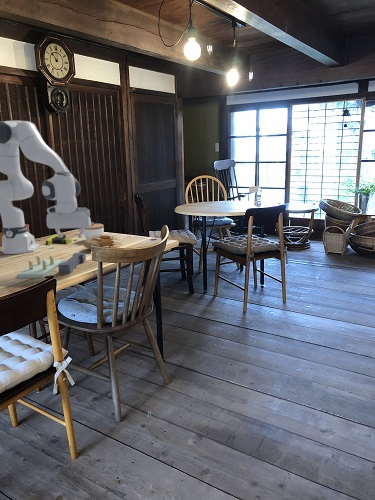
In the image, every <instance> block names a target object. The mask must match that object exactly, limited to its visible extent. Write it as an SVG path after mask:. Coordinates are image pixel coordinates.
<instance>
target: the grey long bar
mask: <svg viewBox="0 0 375 500" xmlns="http://www.w3.org/2000/svg"><path fill="white" fill-rule="evenodd" d="M85 262H87V256H86V252H74V253H73V254H72V256H71V257H70V258H68V259H67V260H66V261H65V262H64V263H60V264H59V265H58V268H57V270H58V274H66V275H67V274H69V275H70V274H72V273H73V272H74V269H75V268H77V267H78V266H79V265H81V264H84V263H85Z"/></svg>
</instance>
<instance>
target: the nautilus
mask: <svg viewBox="0 0 375 500" xmlns="http://www.w3.org/2000/svg"><path fill="white" fill-rule="evenodd" d="M119 238H120V237H115V236H113V235H105V234H103V235H95V236H92V237H90V238H88V239H86V238H85V240H84V241H83V242H82V243H83V244H82V245H83V248H85V249H90V250H92V249H91V248H92V245H99V246H109V247H110V248H111V247H114V248H120V246H121V247H122V246H123V244H122V243H121V242H119V241H120V239H119ZM115 240H116V241H117V242H116V243H115ZM121 241H123V240H121Z"/></svg>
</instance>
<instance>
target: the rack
mask: <svg viewBox="0 0 375 500" xmlns="http://www.w3.org/2000/svg"><path fill="white" fill-rule="evenodd" d="M64 262H66V261H65V259H54V255H49V259H41V255H36V262H35V263H33V260H32V259H30V260H28V267H27V268H25V269H23V270H21V271H20V272H18V273H17V274H16V278H17V279H18V278H19V279H21V278H22V279H23V278H24V279H25V278H27V279H34V278H35V279H44V278H45V277H47V276H48V275H49V274H51V273H52V272H54V271H55V270H56V269H58V265H59V264H60V263H64Z"/></svg>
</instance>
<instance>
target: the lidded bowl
mask: <svg viewBox="0 0 375 500" xmlns="http://www.w3.org/2000/svg"><path fill="white" fill-rule="evenodd" d="M104 229H105V228H104V224H102V223H95V222H92V221H91V226H90V227H89V228H84V231H83V233H82V235H83V236H84V238H85V240H86V239H88V238H90V237H92V236H95V235H104V233H105V232H104Z"/></svg>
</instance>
